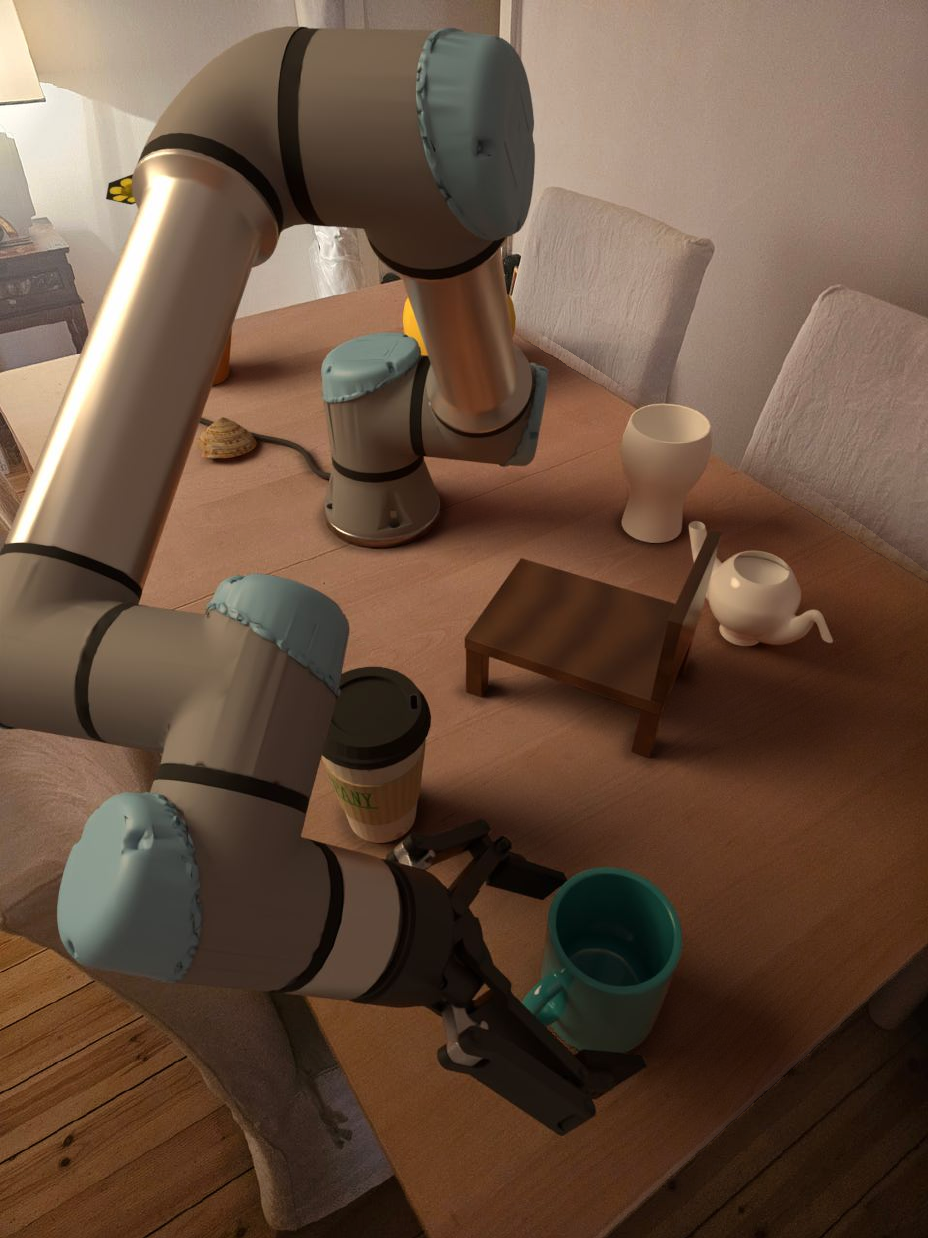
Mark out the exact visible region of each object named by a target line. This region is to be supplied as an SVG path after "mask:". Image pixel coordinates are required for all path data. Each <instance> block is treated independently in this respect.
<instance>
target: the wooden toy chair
mask: <svg viewBox="0 0 928 1238" xmlns="http://www.w3.org/2000/svg"><path fill="white" fill-rule="evenodd" d="M722 535H723V532H722V531H719V530H716V529H712V528H709V529H708V532H707V536H706V538H705V540H704V542H703V545H702V547H701V549H700V551H699V553H698V556H697V558H696V560H695V562H693V564H692V566H691V569H690V570H689V573H688V576H687V578H686V580H685V582H684V584H683V585H682V588H681V591H680V593H679V595H678V597H677V600H676V602H675V603H674V602H672V601H671V602H670V601H667V600H664V599H662V598H661V599H660V598H658V597H654V596H650V595H647V594H643V593H641V592H636V591H634V590H630V589H627V588H625V587H624V588H623V587H620V586H618V585H613V584H611V583H606V582H603V581H600V580H596V579H593V578H590V577H587V576H583V575H579V574H576V573H573V572H570V571H567V570H562V569H559V568H556V567H552V566H549V565H546V564H543V563H539V562H536V561H532V560H530V559H526V558H522V557H521V558H519V560H518V561H517V563H516V564H515V566H514V567H513V568H512V570H511V571H510V573H509V575H508V576H507V577H506V578H505V580H504V581H503V583H502V584H501V585H500V587H499V588H498V590H496V592H495V594H494V595H493V597H492V598H491V600H490V601H489V602H488V604H487V606H486V607H484V609H483V611H482V613H480V615H479V616H478V618H477V619H476V620H475V622H474V624H473V625H472V626H471V627H470V629H469V630H468V632H467V633H466V634H465V636H464V649H465V692H466V693H467V694H470V695H474V696H476V697H479V698H482V697H483V695H484V694H485V692H486V690H487V689H488V688H489V682H490V681H489V679H490V676H489V675H490V673H489V672H490V658H492V659H494V660H498V661H501V662H504V663H506V664H509V665H513V666H516V667H518V668H522V669H524V670H528V671H529V672H533V673H535V674H538V675H542V676H544V677H546V678H547V677H548V678H550V679H553V680H556V681H559V682H562V683H565V684H568V685H570V686H574V687H575V688H579V689H582V690H585V691H587V692H590V693H593V694H595V695H598V696H603V697H605V698H608V699H611V700H614V701H616V702H620V703H622V704H626V705H629V706H631V707H635V708H637V709H639V714H638V717H637V718H638V719H637V723H636V728H635V732H634V737H633V742H632V746H631V752H630V753H633V754H635V755H638V756H642V757H643V758H647V759H650V757H651V755H652V753H653V750H654V747H655V744H656V740H657V737H658V731H659V729H660V728H659V727H660V724H661V719H662V716H663V713H664V707H665V705H666V704H667V701H668V698H669V696H670V694H671V691H672V688H673V686H674V683H675V682H676V679H677V676H678V677H681V678H682V677H684V674H685V672H686V669H687V666H688V662H689V658H690V655H691V651H692V647H693V643H694V639H695V636H696V631H697V628H698V626H699V623H700V621H701V616H702V612H703V608H704V605H705V601H706V594H707V590H708V586H709V582H710V578H711V574H712V570H713V567H714V563H715V559H716V556H717V554H718V552H719V547H720V543H721V539H722Z"/></svg>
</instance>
